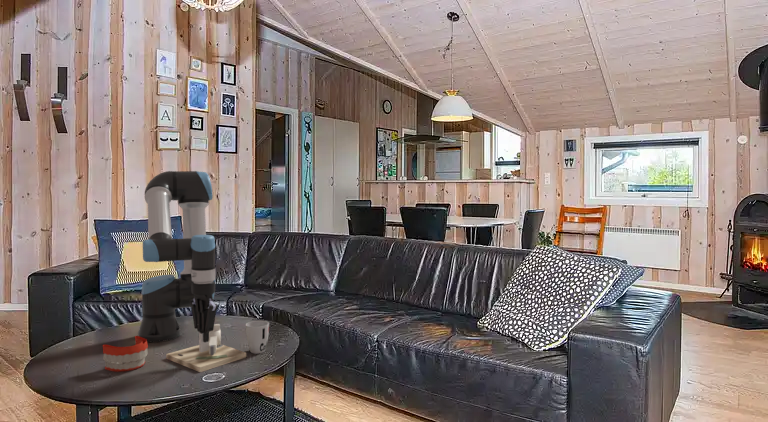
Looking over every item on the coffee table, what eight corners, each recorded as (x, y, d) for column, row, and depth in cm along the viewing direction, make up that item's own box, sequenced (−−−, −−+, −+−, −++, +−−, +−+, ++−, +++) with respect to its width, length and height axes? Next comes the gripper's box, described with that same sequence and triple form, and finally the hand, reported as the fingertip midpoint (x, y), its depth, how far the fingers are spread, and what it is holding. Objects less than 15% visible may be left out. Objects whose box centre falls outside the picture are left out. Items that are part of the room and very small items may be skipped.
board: (166, 358, 179) (166, 353, 179) (213, 345, 194) (213, 340, 194) (200, 372, 167) (200, 366, 167) (247, 356, 182) (247, 351, 182)
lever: (207, 343, 190) (207, 323, 190) (221, 342, 191) (220, 322, 191) (204, 358, 174) (204, 337, 174) (219, 357, 175) (219, 336, 175)
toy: (120, 376, 164) (120, 351, 163) (101, 369, 169) (101, 345, 169) (156, 364, 174) (156, 340, 174) (137, 358, 180) (137, 335, 179)
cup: (263, 355, 183) (263, 327, 182) (241, 354, 185) (241, 326, 184) (272, 348, 191) (272, 321, 190) (252, 346, 193) (251, 319, 192)
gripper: (182, 280, 176) (183, 349, 178) (204, 286, 168) (205, 358, 170) (202, 277, 182) (202, 343, 183) (224, 282, 174) (225, 352, 176)
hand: (204, 350), depth 177 cm, fingers closed
